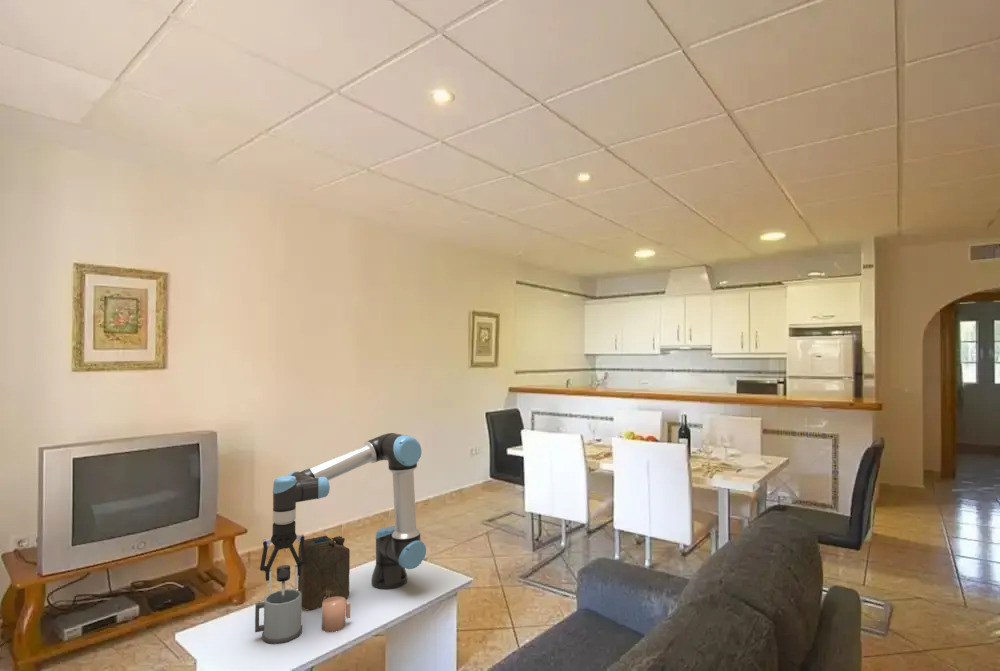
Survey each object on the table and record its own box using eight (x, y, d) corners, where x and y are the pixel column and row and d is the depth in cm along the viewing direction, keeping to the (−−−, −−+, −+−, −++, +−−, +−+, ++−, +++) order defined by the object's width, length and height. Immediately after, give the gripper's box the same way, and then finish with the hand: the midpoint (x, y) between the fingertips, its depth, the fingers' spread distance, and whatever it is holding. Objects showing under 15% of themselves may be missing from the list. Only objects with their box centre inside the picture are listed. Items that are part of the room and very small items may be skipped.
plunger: (295, 611, 193) (296, 560, 194) (297, 623, 184) (298, 569, 185) (268, 616, 189) (269, 565, 190) (268, 628, 181) (269, 574, 181)
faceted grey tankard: (300, 622, 195) (301, 586, 196) (303, 639, 183) (304, 600, 184) (254, 631, 189) (255, 593, 189) (254, 649, 177) (255, 609, 177)
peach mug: (347, 618, 198) (348, 593, 198) (351, 628, 190) (351, 602, 191) (320, 624, 194) (321, 598, 194) (323, 634, 186) (323, 608, 187)
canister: (303, 613, 202) (304, 546, 203) (296, 605, 209) (297, 540, 210) (350, 598, 214) (351, 535, 215) (342, 591, 220) (342, 530, 222)
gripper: (313, 515, 196) (313, 578, 195) (252, 522, 187) (251, 588, 186) (315, 520, 189) (315, 586, 188) (252, 528, 181) (250, 597, 179)
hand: (283, 587), depth 187 cm, fingers open, 8 cm apart
